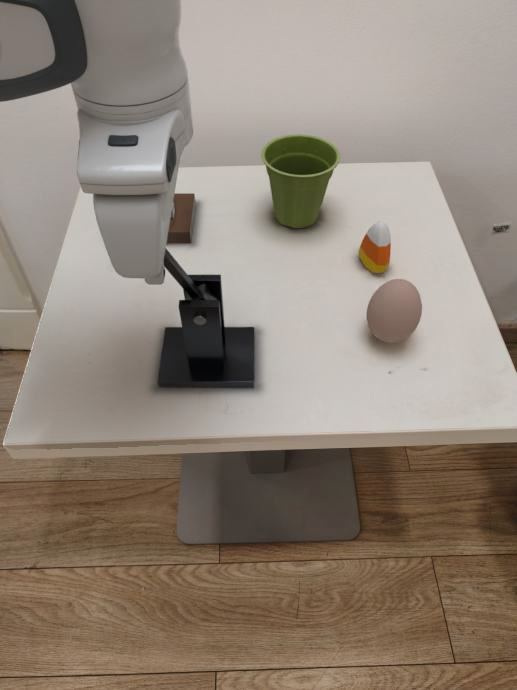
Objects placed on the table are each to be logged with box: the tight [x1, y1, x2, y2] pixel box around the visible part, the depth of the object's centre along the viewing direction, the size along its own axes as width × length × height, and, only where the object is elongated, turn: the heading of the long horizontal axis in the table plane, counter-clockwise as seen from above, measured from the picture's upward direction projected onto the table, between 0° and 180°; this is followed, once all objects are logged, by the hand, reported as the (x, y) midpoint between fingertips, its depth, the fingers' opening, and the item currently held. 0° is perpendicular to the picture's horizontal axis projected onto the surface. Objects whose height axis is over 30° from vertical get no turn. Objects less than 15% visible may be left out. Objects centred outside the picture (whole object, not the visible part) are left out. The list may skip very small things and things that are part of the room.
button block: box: [166, 192, 197, 244], centre depth 83 cm, size 12×10×4 cm
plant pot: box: [261, 133, 341, 229], centre depth 82 cm, size 12×12×11 cm
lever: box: [164, 248, 217, 300], centre depth 56 cm, size 12×5×2 cm
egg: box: [366, 278, 423, 343], centre depth 66 cm, size 7×7×10 cm
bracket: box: [157, 274, 255, 388], centre depth 63 cm, size 12×9×13 cm
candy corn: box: [358, 220, 392, 274], centre depth 76 cm, size 6×3×8 cm, turn 25°
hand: (161, 246), depth 53 cm, fingers open, 8 cm apart
